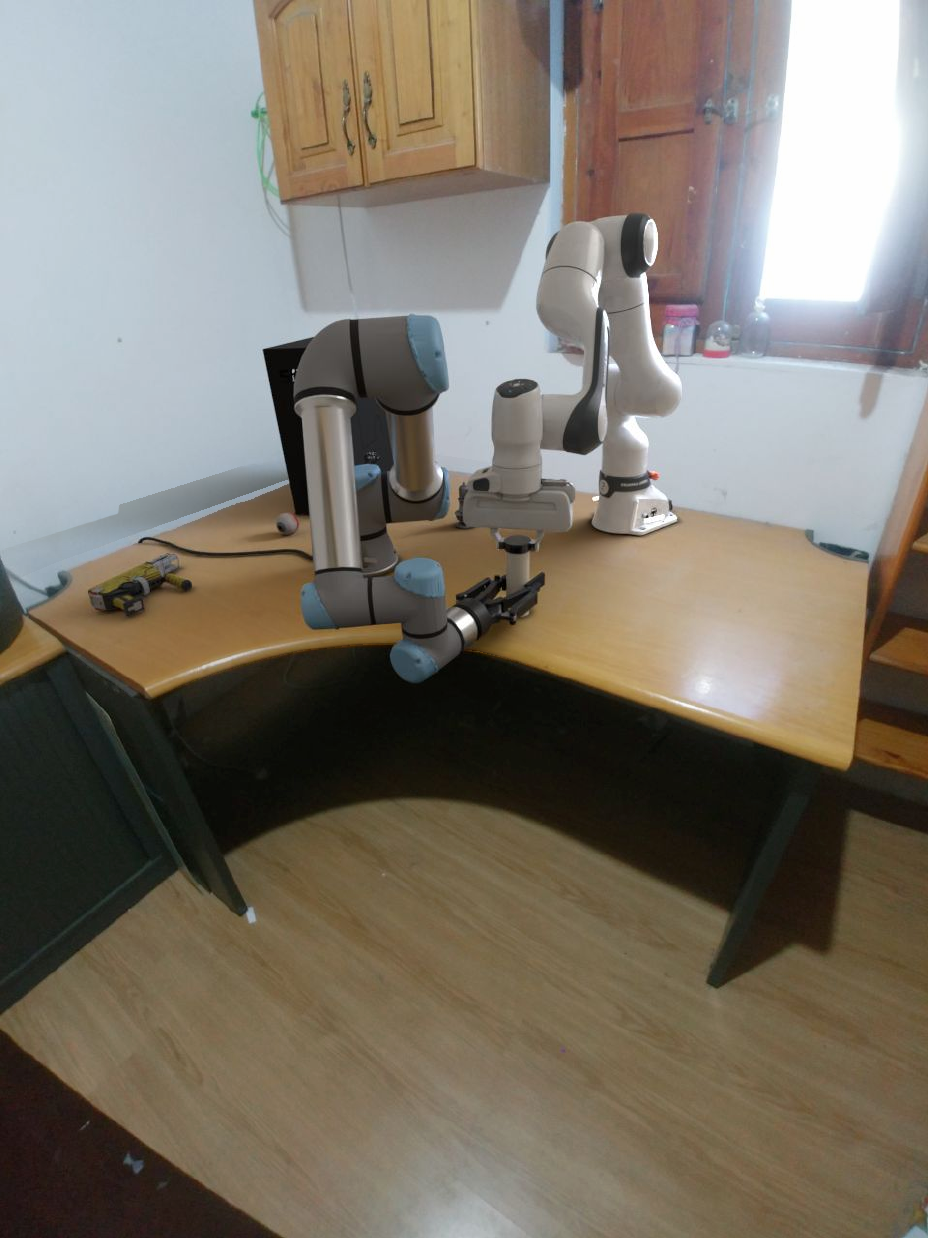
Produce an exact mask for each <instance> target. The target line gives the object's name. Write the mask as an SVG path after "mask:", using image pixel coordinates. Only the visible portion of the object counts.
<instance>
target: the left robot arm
mask: <svg viewBox="0 0 928 1238" xmlns="http://www.w3.org/2000/svg"><path fill="white" fill-rule="evenodd" d="M313 337H314V338H313V339H312V341H311V342H310V343H309V345H308V346H307V348H306V350H305V352H304V354H303V355H302V358H301V360H300V363H299V366H298V369H296V370H297V372H296V376H295V380H294V381H295V382H294V406H295V412H296V413H297V414H298V415H299V416H300V417H301V418H302V425H303V437H304V450H305V463H306V476H307V489H308V501H309V514H308V515H309V524H310V539H311V550H312V552H311V553H312V555H311V554H309V553H307V552H305V551H302V550H300V549H296V548H281V549H280V548H279V549H269V550H254V551H253V550H251V551H239V552H238V551H237V552H212V551H211V552H209V551H199V550H194V549H193V550H192V549H188V548H185V547H181V546H178V545H176V544H174V543H172V542H171V541H167V540H163V539H159V538H156V537H151V536H144V537H141V538H140V539H139V540H138V542H137V543H138V544H142V543H143V542H144V541H153V542H155V543H160V544H163V545H167V546H169V547H171V548H173V549H176V550H178V551H181V552H184V553H189V554H193V555H198V556H209V557H236V556H237V557H238V556H239V557H240V556H252V555H268V554H280V553H295V554H300V555H302V556H304V557H306V558H308V559H310V560H312V563H313V564H312V566H313V573H314V579H313V581H311V582H306V583H305V584H303V586H302V587H301V591H300V595H301V597H300V607H301V614H302V618H303V621H304V623H305V624H306V626H307V627H308V628H309V629H311V630H313V631H317V630H336V631H337V630H340V629H346V628H357V627H368V626H381V625H393V624H394V625H395V624H400V628H401V636H402V638H401V639H400V640H398V641H397V642H396V643H395V644H394V645H393V646H392V648H391V650H390V653H389V658H390V663H391V666H392V668H393V669H394V672H396V674H397V675H398V676H399V678H401V679H402V680H404V681H406V682H408V683H410V684H420V683H422V682H424V681H425V680H427V679H429V678H430V677H432V676H434V675H436V674H437V673H438V672H439V671H440V670H441V669H442V668H443V667H445V666H446V665H448V664H449V663H450V662H451V661H453V660H454V659H455V658H456V657H458V656H459V655H460V654H461V653H462V652H465V650H466V649H467V650H468V648H470V647H471V646H472V645H474V644H475V642H477V641H479V640H480V639H482V638H483V637H484V636H486V635H487V634H488V633H489V631H490V630H491V628H492V627H493V625H496V624H498V623H501V622H502V621H506V622H507V621H508V624H509V625H510V626H515V625H516V624H517V622H518V620H519V619H520V618H522V617H521V616H522V615H524V614H525V613H526V612H527V611H529V612H530V610H531V609H533V608H534V607H536V606H537V605H538V603H539V602H538V601H539V600H538V599H539V592H541V588H543V587H544V586H545V585H546V572H545V571H541V572H539V573H538V574H537V575H535V576H534V577H533V578H531V579H529V582H527V583H526V584H524V588H523V589H521V590H519V591H517V592H514V593H512V594H510V595H508V596H506V595H505V596H504V597H503V596H502V595H501V596H498V594H499V593H500V592H501V591H503V592H506V573H505V574H503V575H502V576H501V575H500V574H495V575H493V577H494V578H493V579H492V578H491V577H485V578H483V579H482V580H480V581H479V582H476V583H475V584H474V585H472V586H471V587H469V588H468V589H466V590H465V591H461V592H459V593H456V594H455V604H453V605H452V606H451V607H449V608H447V597H446V595H447V591H446V586H445V585H446V584H445V578H444V571H443V570H444V569H443V568H442V566H441V565H440V563H439V562H438V561H436V560H434V559H432V558H428V557H411V558H410V559H404V560H402V561H401V562H399V555H398V552H397V550H396V548H395V546H394V544H393V542H392V539H391V537H390V535H389V533H388V528H387V525H389V524H396V523H397V524H398V523H399V524H400V523H413V522H425V521H427V522H433V521H435V520H443V519H445V518H446V517H447V515H448V513H449V510H450V498H451V497H450V496H451V483H450V476H449V471H448V469H447V468H446V467H443V466H441V465H440V464H439V462H437V461H436V450H435V448H436V447H435V430H434V428H435V427H434V426H435V425H434V408H433V407H434V406H435V405H436V404H437V402H438V401H439V398H440V395H441V394H443V393H446V392H447V391H448V390H449V389H450V380H449V371H448V363H447V359H446V352H445V344H444V338H443V333H442V327H441V325H440V322H439V320H438V319H437V318H436V317H434V316H432V315H429V314H427V315H423V314H414V313H412V314H411V313H410V314H408V315H397V316H396V315H395V316H381V317H368V318H366V317H365V318H354V319H351V318H344V319H340V320H336V321H334V322H332V323H329V324H327V325H326V326H325V327H323V328H322V329H321V330H319V331H318V333H316V334H315V335H314V336H313ZM359 397H360V398H366V397H375V399H376V401H377V403H378V404H379V405H380V407H381V408H382V409H384V410H385V411H386V417H387V423H388V430H389V436H390V442H391V448H392V455H393V461H394V465H393V466H392V468H391V470H390V471H387V472H380V468H379V467H378V466H377V465H375V464H371V465H370V464H363V465H357V466H354V456H353V444H352V432H351V420H350V418H351V417H352V415H353V414H354V413H355V412H356V402H355V399H356V398H359ZM392 571H394V573H393V575H386V574H389V573H391V572H392ZM384 575H386V576H384ZM497 596H498V597H497Z"/></svg>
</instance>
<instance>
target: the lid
mask: <svg viewBox="0 0 928 1238" xmlns="http://www.w3.org/2000/svg"><path fill="white" fill-rule="evenodd" d="M504 538H505V539H504V549H503V550H504V551H505V553H506V552H509V553H513V554H522V553H526V552H528V551H530V548H531V547H530V542H531V540H532V538H531V537H530V536H527V535H523V534H513V535H509V536H506V537H504ZM530 552H531V551H530Z"/></svg>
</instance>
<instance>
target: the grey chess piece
mask: <svg viewBox="0 0 928 1238" xmlns="http://www.w3.org/2000/svg"><path fill="white" fill-rule="evenodd" d="M468 491H469V490H468V488H467V484H466V482H465V481H463V482H462V485H460V486H459V487H458V498H457V500H458V501H459V502H458V504H459V505H458V507H459V508H458V509H457V510H455V511H454V516H455V517H456V519H457V520H458V522H457V523H456V525H455V526H456V527H457V528H459V529H471V528H473V527H468V526H466V524H465V523H464V522H463V503H464V498H465V495H466V494H467V492H468Z"/></svg>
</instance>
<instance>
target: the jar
mask: <svg viewBox="0 0 928 1238" xmlns="http://www.w3.org/2000/svg"><path fill="white" fill-rule="evenodd" d="M530 552H531V551H528V552H526V553H522V554H513V553H509V552H506V551H505V574H506V591H505V597H506V596H508V595H510V594H512V593H514V592H517V591H519V590H521V589H523V588H524V584H526V583H527V582H529V581H530V557H531V555H530ZM529 613H530V610H529V611H527V612H526V613H525V614H524V615H522V616H521V617H520V618H525V617H527V616H528V615H529Z"/></svg>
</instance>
